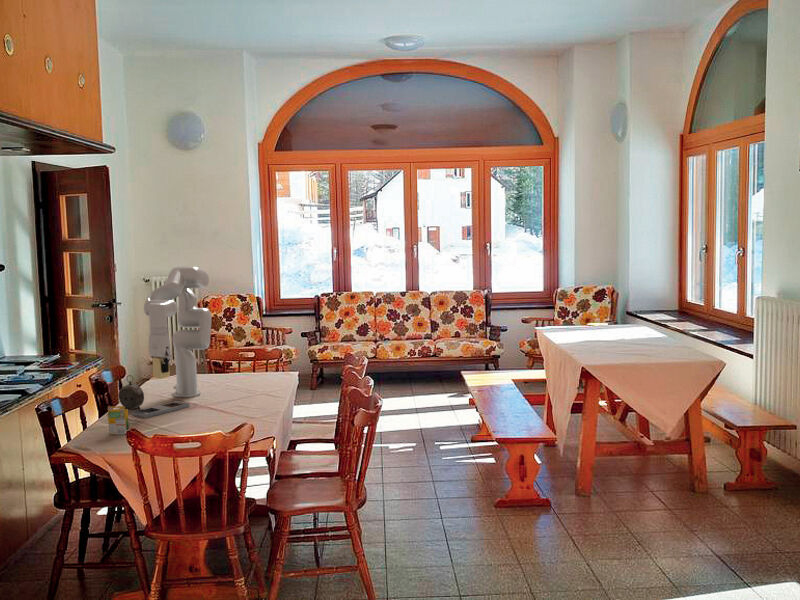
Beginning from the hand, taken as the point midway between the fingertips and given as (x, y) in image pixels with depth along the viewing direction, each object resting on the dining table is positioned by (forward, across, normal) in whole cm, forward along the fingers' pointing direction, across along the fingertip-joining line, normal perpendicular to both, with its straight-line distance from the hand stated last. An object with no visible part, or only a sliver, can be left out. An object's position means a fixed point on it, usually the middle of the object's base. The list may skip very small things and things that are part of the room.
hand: (161, 371), depth 376 cm
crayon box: (+18, +14, -32) cm, 40 cm away
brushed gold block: (+3, 0, 0) cm, 3 cm away
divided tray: (+19, +1, -2) cm, 19 cm away
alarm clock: (+19, -14, -7) cm, 25 cm away
